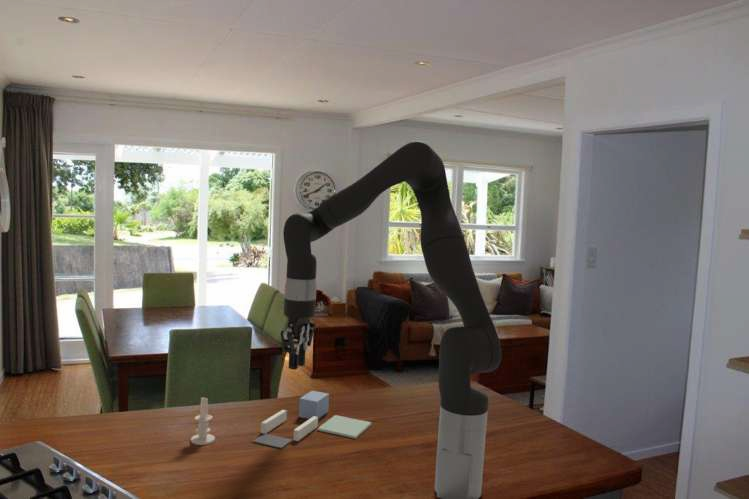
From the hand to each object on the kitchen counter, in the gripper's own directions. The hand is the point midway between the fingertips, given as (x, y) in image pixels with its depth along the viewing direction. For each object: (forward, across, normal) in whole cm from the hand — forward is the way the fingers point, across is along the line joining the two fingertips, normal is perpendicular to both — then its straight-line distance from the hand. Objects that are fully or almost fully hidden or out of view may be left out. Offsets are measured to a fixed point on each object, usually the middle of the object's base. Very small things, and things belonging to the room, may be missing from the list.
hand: (296, 366), depth 147 cm
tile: (+15, +6, -11) cm, 20 cm away
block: (+15, +10, 0) cm, 18 cm away
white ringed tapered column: (+15, -17, +14) cm, 27 cm away
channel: (+15, -5, 0) cm, 16 cm away
